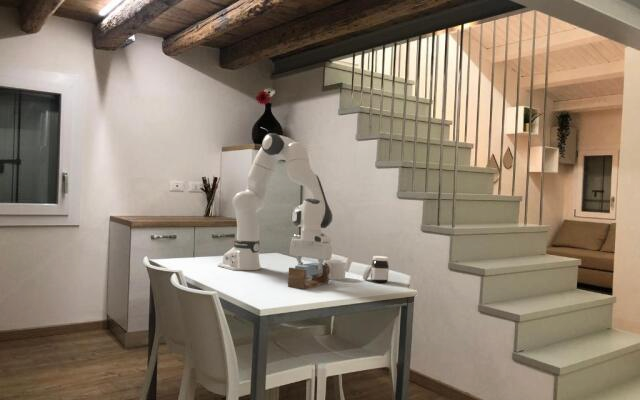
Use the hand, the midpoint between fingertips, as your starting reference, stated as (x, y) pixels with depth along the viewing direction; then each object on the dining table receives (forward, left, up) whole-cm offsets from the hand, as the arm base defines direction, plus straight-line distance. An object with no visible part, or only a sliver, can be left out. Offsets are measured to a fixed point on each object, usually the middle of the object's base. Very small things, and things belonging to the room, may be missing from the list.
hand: (309, 268), depth 228 cm
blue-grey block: (0, 0, -3) cm, 3 cm away
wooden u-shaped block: (0, 0, -7) cm, 7 cm away
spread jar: (+16, +31, -8) cm, 36 cm away
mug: (-3, +24, -8) cm, 25 cm away
